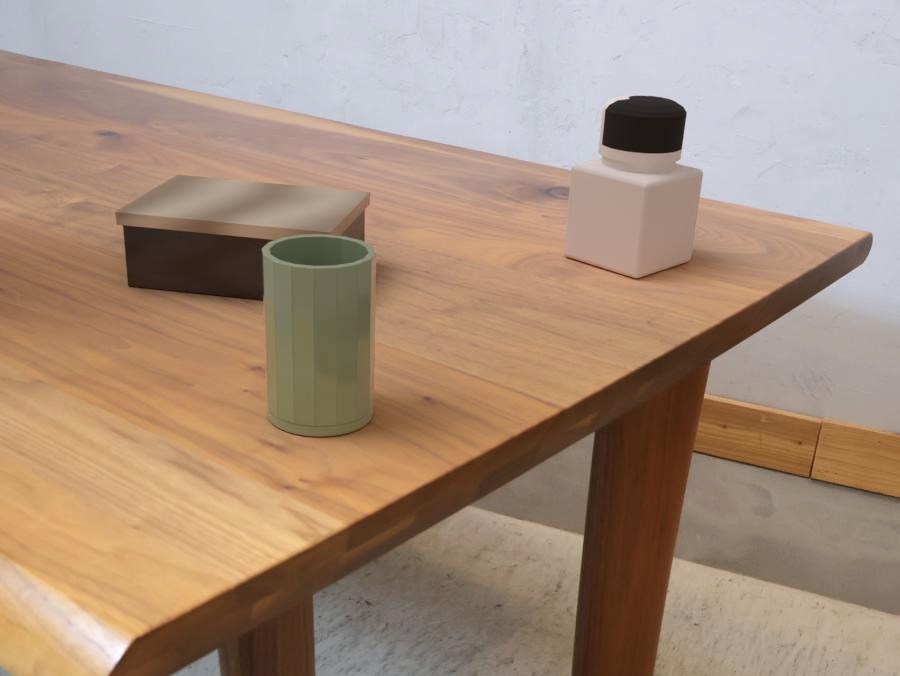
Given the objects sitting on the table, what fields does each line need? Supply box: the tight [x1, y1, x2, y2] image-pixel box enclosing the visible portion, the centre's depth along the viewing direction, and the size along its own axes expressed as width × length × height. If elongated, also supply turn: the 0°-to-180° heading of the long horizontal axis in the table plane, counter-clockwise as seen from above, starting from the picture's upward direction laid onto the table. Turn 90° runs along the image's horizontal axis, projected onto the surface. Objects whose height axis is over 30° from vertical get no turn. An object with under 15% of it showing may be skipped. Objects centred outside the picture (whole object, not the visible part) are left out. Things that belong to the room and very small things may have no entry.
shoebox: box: [115, 174, 371, 301], centre depth 80 cm, size 15×11×5 cm
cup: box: [262, 234, 377, 438], centre depth 59 cm, size 6×6×9 cm
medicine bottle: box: [563, 94, 704, 279], centre depth 86 cm, size 7×7×12 cm
